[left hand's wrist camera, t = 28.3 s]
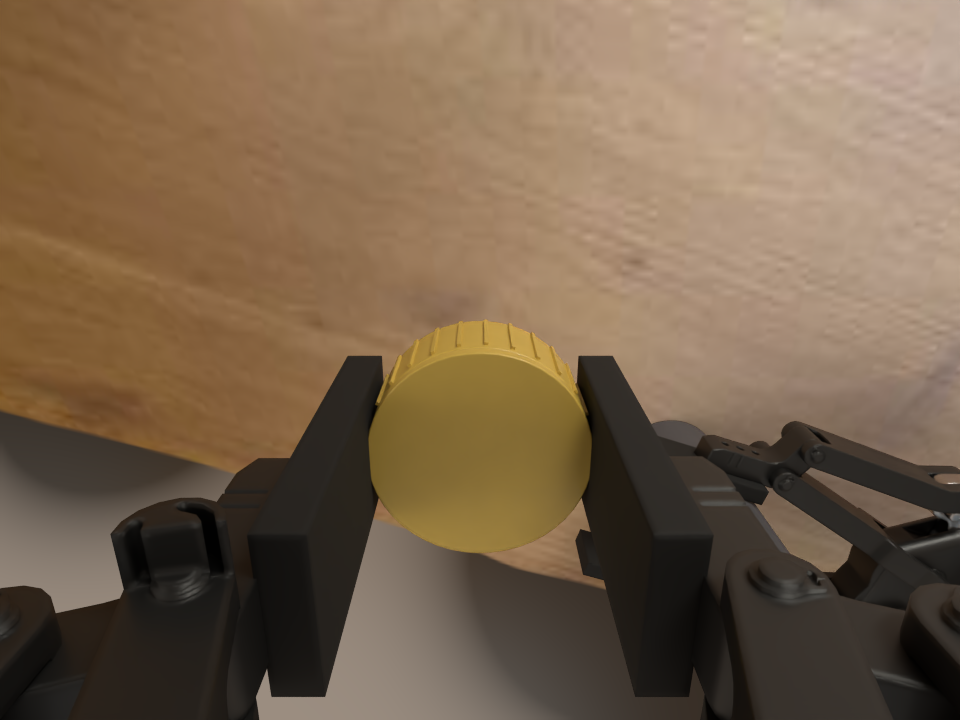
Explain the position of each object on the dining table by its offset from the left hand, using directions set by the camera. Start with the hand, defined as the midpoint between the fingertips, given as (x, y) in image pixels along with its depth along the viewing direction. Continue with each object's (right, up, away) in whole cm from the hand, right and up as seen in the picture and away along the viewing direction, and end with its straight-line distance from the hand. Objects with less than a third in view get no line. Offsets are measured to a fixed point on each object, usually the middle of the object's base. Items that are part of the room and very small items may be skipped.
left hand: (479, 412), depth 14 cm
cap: (0, -1, -2) cm, 2 cm away
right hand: (+6, -6, +17) cm, 19 cm away
